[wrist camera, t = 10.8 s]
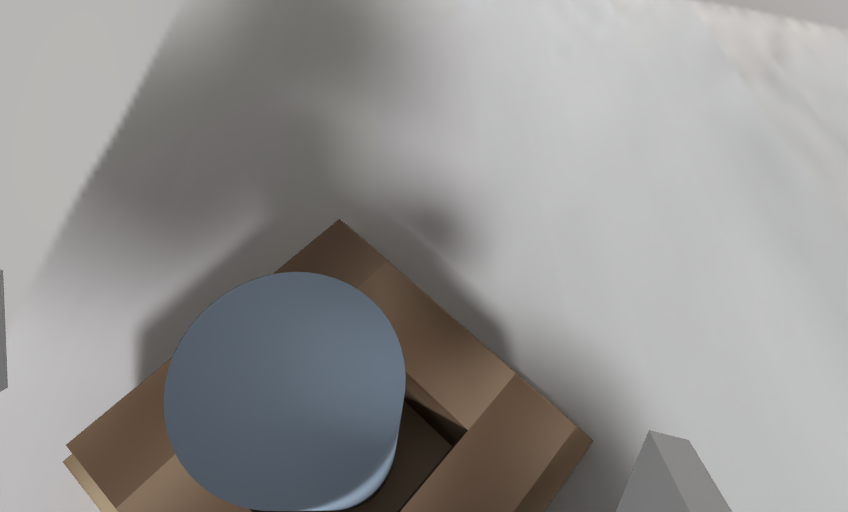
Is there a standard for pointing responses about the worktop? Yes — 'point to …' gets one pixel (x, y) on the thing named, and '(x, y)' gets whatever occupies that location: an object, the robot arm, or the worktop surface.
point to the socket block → (419, 426)
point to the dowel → (288, 395)
